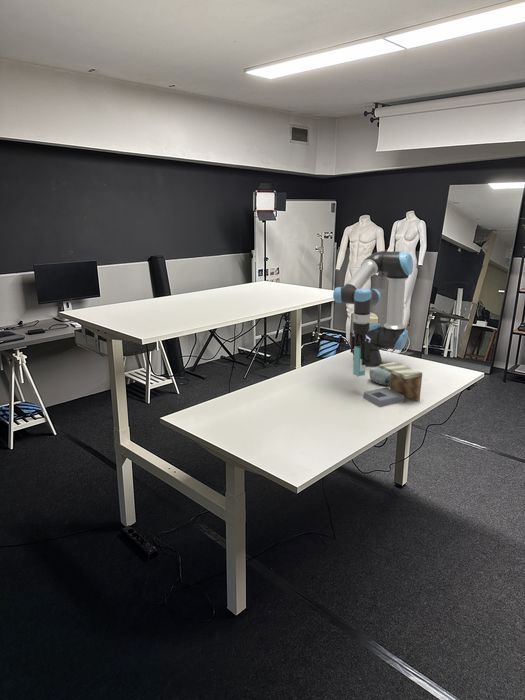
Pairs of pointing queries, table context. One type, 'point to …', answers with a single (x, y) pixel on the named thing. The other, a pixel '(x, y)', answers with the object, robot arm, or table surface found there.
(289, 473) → the table surface
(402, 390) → the wood grain block
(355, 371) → the peg
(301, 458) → the table surface
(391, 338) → the robot arm
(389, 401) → the socket
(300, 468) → the table surface
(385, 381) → the grey yarn spool
